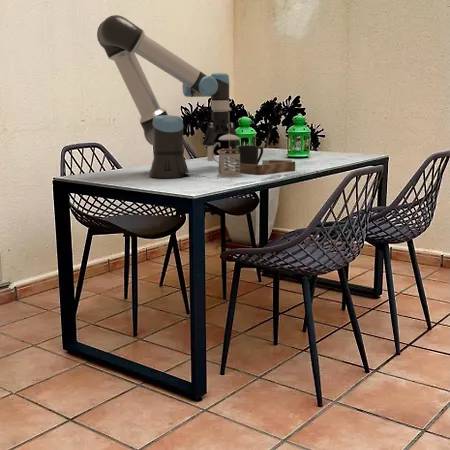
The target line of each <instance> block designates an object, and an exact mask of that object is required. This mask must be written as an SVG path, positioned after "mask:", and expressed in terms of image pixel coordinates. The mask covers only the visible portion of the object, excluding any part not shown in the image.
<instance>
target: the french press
mask: <svg viewBox="0 0 450 450" xmlns="http://www.w3.org/2000/svg"><path fill="white" fill-rule="evenodd" d="M226 111H228V112H230V111H232V107H229V108H227V110H226ZM237 136H238V135H237ZM237 136H235V135H231V134H227V135H224V134H223V135H221V136H219V138H218V140H219V141H228V140H229V142H228V148H221V142H215V144H213V145H212V146H213V147H212V149H213V151H214V150H215V148H216V147H217V145H218V147H220V149H219V151H220V152H222V153H219V154H218V160H216V158H215V155H214V154H213V156H212V158H213V161H215V162H216V163H218V174H216V177H219V178H238V177H239V178H240V177H243V176H244V175H243V173H240V153H238V151H239V149H238V148H236V149H231V148H230V140H239V141H240V140H241V137H239V136H238V137H237ZM231 151H236V153H229V152H231ZM211 155H212V150H211ZM229 157H230V158H232V159H235V160H232V159H229ZM230 161H231V162H234V163H230ZM235 166H236V167H235ZM235 170H236V171H235Z"/></svg>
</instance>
